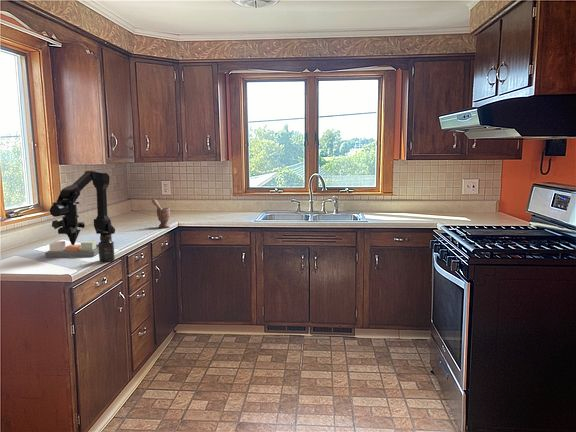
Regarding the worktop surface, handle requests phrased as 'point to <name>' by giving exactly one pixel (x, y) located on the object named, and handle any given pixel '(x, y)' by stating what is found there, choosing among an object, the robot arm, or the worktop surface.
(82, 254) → the console
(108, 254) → the supplement bottle
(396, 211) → the worktop surface
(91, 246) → the sage button
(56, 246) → the cream button
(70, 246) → the terracotta button
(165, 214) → the mortar and pestle
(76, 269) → the worktop surface
